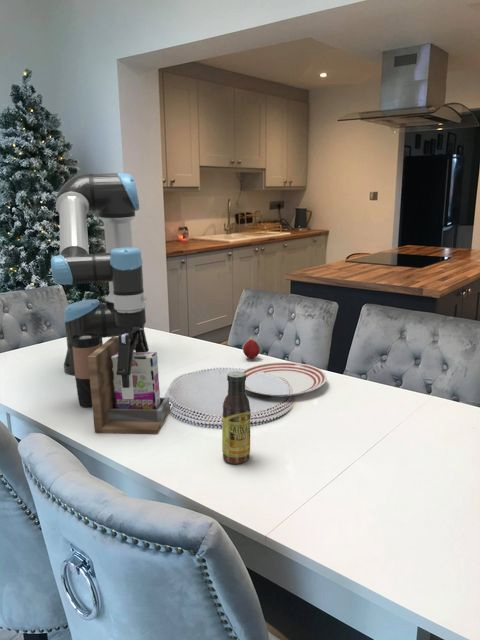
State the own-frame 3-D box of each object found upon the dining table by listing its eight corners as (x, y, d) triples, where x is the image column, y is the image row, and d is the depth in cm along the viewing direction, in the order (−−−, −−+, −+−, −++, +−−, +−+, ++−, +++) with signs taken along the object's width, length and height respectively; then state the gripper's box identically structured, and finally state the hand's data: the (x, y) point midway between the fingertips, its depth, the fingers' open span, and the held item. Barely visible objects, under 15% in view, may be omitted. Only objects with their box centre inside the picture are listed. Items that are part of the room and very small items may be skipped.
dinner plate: (282, 411, 143) (282, 400, 142) (218, 386, 163) (218, 375, 162) (345, 386, 160) (345, 375, 159) (280, 365, 180) (280, 356, 179)
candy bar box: (161, 409, 142) (157, 351, 138) (156, 417, 137) (152, 357, 134) (121, 408, 144) (117, 350, 140) (115, 416, 139) (110, 356, 135)
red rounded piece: (262, 358, 187) (262, 337, 185) (254, 363, 183) (254, 341, 181) (248, 356, 190) (248, 335, 188) (240, 360, 186) (239, 338, 184)
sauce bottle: (230, 468, 114) (227, 381, 109) (217, 455, 119) (214, 372, 114) (256, 460, 116) (255, 375, 112) (243, 449, 122) (241, 367, 117)
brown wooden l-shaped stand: (117, 404, 149) (112, 336, 145) (173, 405, 148) (169, 337, 143) (94, 432, 132) (87, 356, 127) (157, 434, 130) (152, 357, 126)
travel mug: (98, 409, 147) (91, 340, 142) (73, 407, 148) (65, 339, 143) (110, 398, 154) (104, 332, 149) (86, 397, 155) (79, 331, 151)
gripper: (129, 321, 120) (136, 408, 125) (156, 299, 144) (161, 373, 149) (98, 321, 121) (105, 407, 126) (130, 299, 145) (135, 372, 150)
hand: (135, 389), depth 138 cm, fingers open, 13 cm apart
